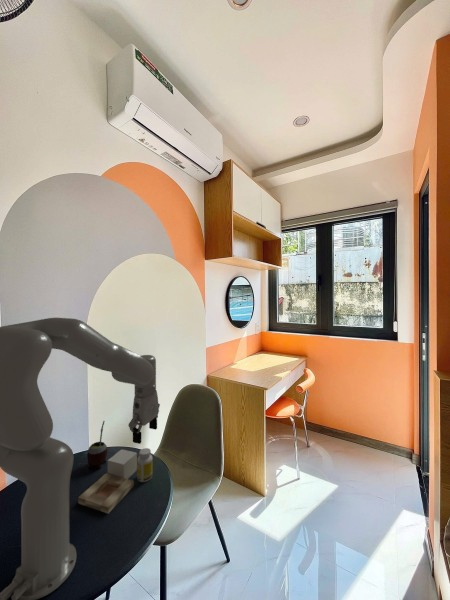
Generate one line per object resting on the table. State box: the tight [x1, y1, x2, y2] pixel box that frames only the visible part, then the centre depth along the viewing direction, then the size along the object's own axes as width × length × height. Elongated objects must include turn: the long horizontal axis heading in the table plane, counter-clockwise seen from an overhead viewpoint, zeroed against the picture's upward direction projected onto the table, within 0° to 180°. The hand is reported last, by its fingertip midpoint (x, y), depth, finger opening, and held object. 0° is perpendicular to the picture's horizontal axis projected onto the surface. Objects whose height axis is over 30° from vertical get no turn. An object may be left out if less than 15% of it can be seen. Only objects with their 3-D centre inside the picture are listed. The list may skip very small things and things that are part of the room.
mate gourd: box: [86, 420, 108, 470], centre depth 101 cm, size 8×8×15 cm
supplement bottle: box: [136, 447, 154, 483], centre depth 94 cm, size 5×5×10 cm
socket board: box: [77, 472, 135, 514], centre depth 86 cm, size 12×12×2 cm
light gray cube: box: [107, 449, 138, 479], centre depth 96 cm, size 7×7×7 cm
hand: (145, 435), depth 94 cm, fingers open, 9 cm apart
